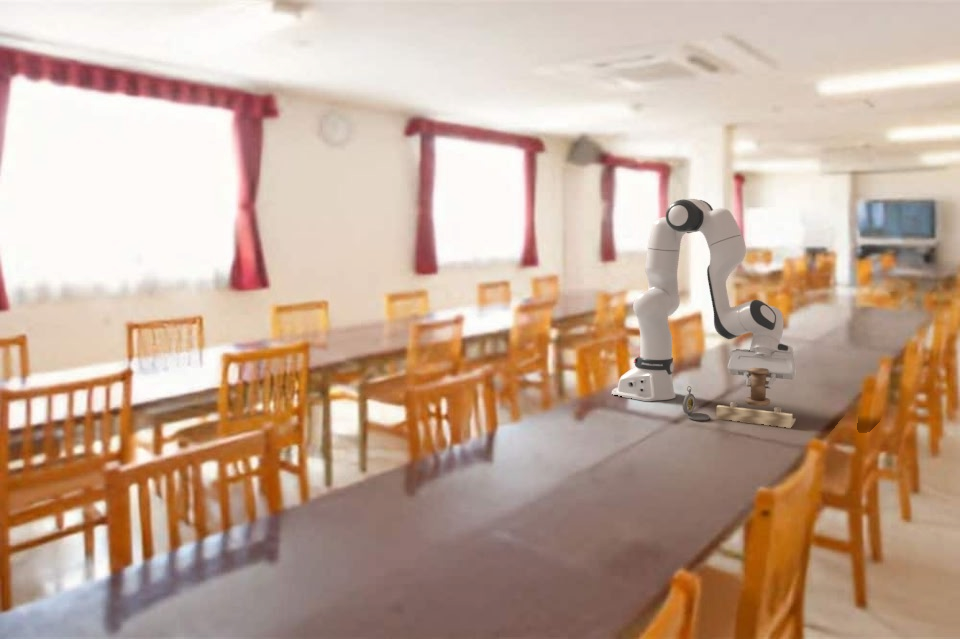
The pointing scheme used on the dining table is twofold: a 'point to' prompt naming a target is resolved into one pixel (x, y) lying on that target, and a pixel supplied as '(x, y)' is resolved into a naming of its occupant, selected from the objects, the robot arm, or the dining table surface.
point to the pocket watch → (692, 408)
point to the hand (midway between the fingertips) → (758, 386)
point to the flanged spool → (758, 387)
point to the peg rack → (755, 415)
